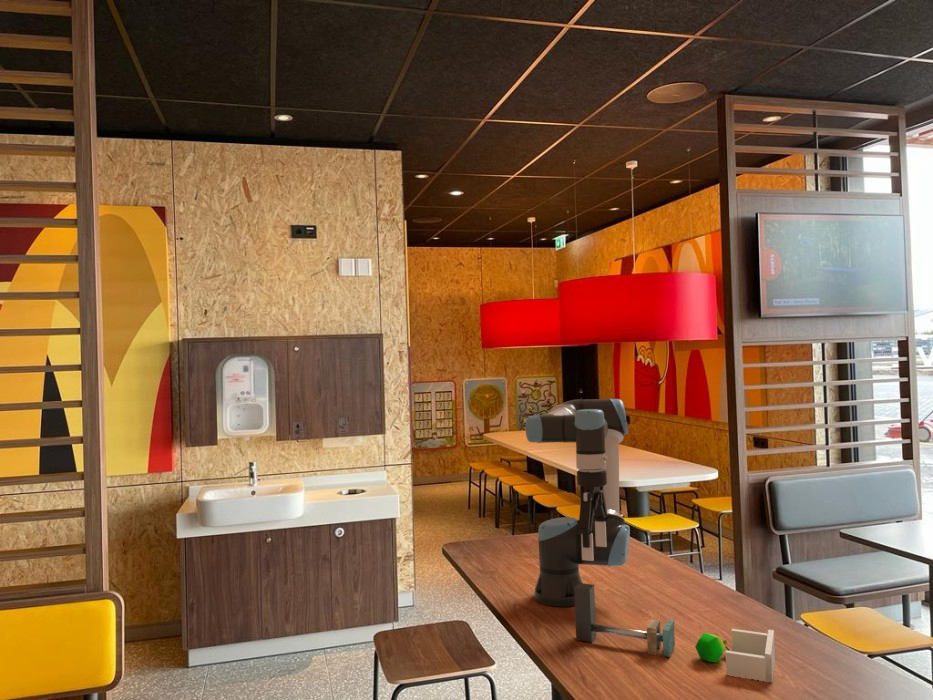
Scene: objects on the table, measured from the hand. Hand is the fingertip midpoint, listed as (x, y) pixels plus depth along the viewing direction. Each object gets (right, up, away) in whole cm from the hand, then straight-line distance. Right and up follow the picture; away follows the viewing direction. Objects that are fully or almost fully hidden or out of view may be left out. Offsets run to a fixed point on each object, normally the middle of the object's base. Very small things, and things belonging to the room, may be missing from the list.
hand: (594, 553), depth 170 cm
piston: (+6, -21, -6) cm, 22 cm away
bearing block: (+13, -21, -10) cm, 26 cm away
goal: (+32, -20, -19) cm, 42 cm away
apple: (+25, -20, -15) cm, 35 cm away
